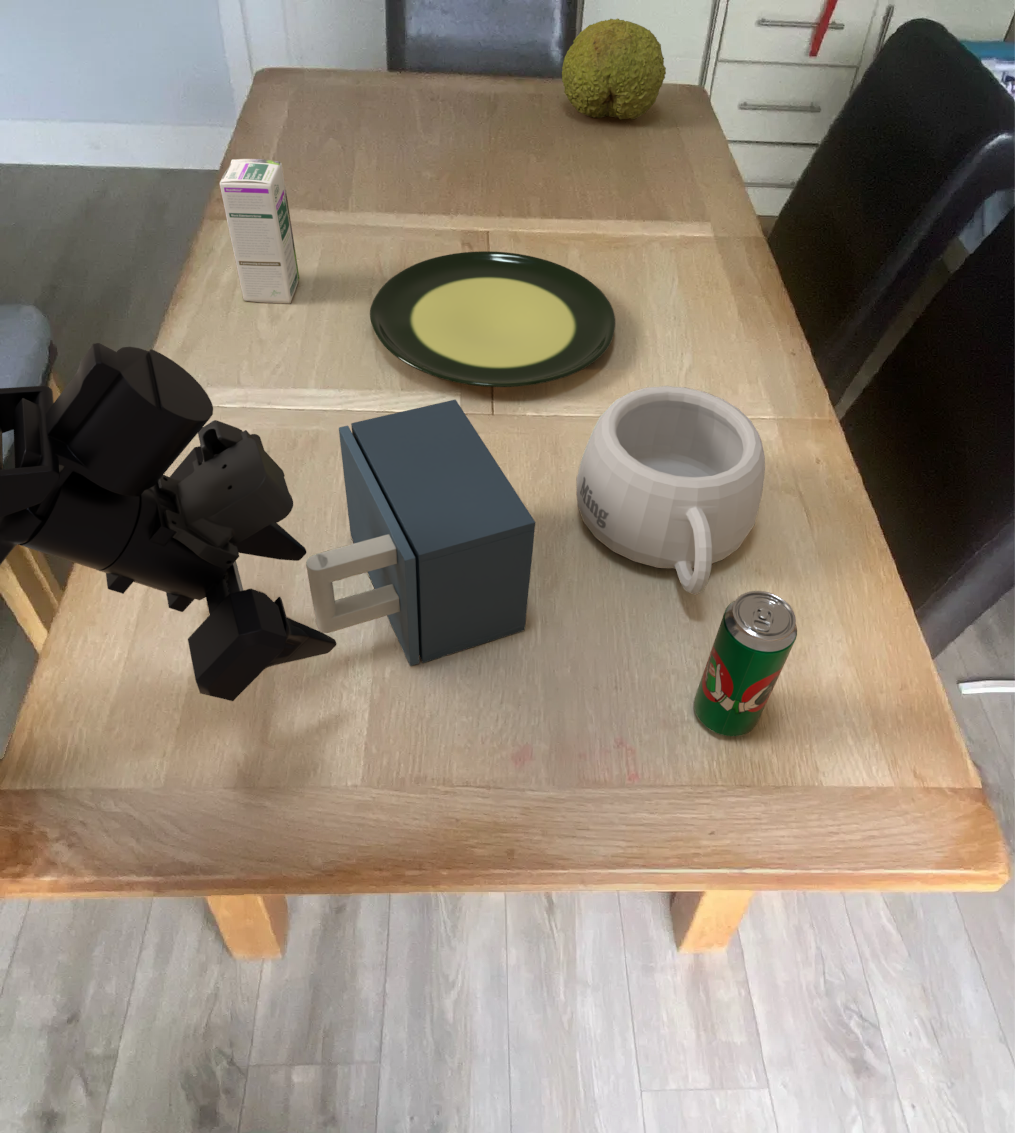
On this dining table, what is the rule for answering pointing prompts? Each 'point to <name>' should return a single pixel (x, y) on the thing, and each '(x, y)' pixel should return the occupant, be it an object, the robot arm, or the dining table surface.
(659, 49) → the fruit
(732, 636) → the soda can
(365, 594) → the cabinet door
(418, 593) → the cabinet
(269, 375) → the dining table surface
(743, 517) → the mug
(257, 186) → the syrup box
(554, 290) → the plate
